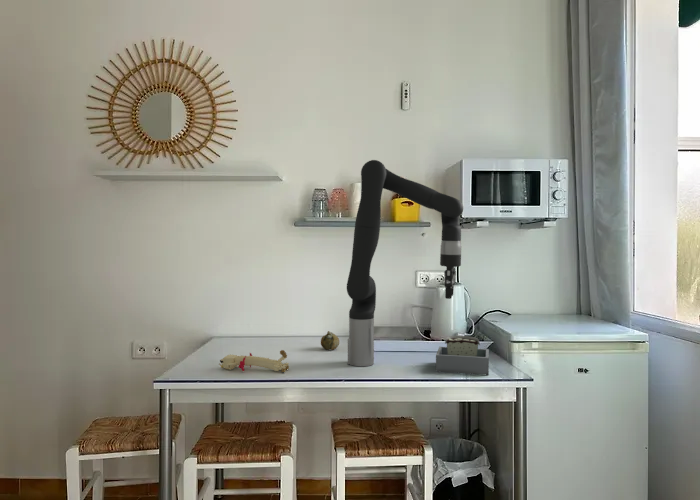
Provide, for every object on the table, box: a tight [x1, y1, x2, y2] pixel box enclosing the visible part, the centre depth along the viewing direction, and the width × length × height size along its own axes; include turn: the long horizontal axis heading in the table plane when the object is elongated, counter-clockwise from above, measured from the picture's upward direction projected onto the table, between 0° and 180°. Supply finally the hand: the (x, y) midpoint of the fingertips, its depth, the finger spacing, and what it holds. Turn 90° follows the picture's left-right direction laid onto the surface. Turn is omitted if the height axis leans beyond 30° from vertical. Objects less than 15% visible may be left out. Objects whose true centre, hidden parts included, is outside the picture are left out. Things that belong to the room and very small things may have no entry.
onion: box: [320, 330, 340, 351], centre depth 226 cm, size 8×8×8 cm
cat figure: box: [218, 349, 290, 373], centre depth 194 cm, size 10×9×25 cm
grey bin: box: [435, 346, 490, 376], centre depth 196 cm, size 18×14×6 cm
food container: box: [444, 335, 481, 357], centre depth 197 cm, size 12×6×10 cm, turn 78°
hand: (449, 297), depth 200 cm, fingers open, 8 cm apart
